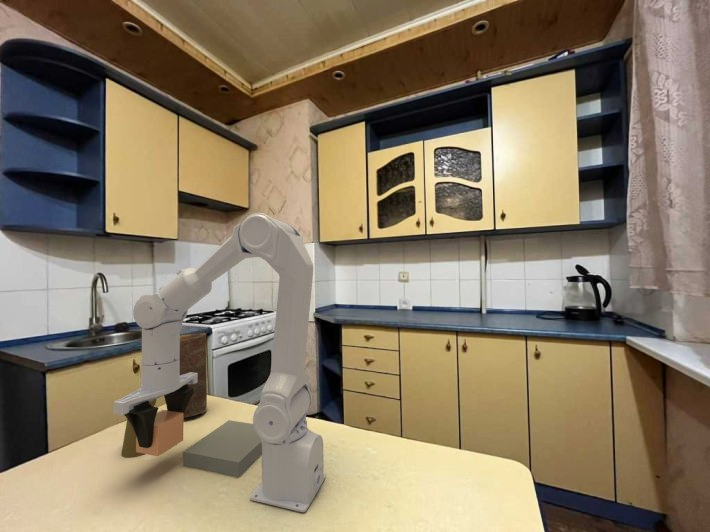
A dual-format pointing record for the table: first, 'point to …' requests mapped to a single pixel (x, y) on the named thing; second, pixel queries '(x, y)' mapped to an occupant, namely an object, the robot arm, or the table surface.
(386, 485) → the table surface
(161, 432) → the terracotta cube
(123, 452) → the cork
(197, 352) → the candle
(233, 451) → the grey square plate
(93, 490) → the table surface
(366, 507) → the table surface
